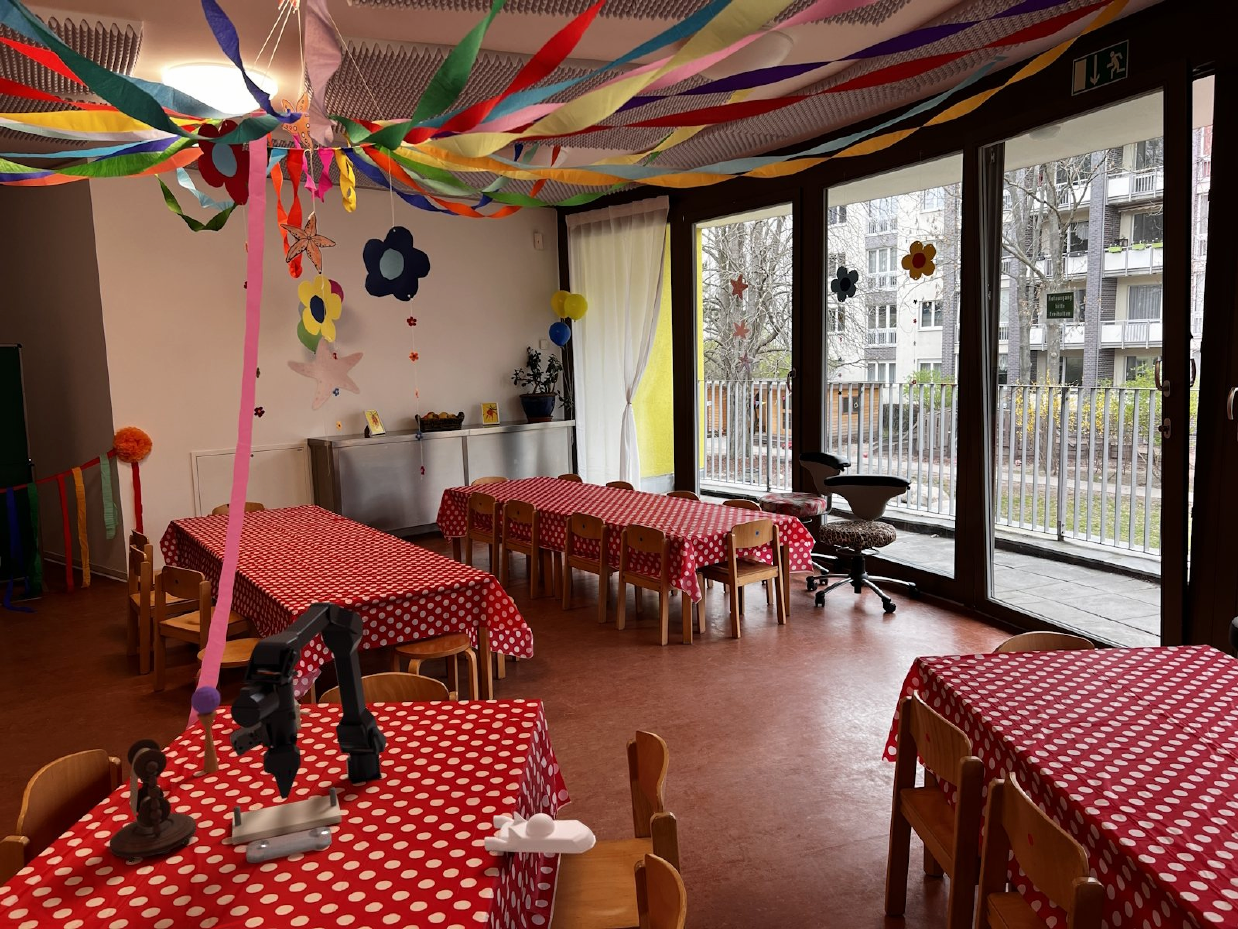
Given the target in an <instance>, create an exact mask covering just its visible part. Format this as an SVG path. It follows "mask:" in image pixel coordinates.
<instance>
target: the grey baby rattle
mask: <svg viewBox="0 0 1238 929" xmlns="http://www.w3.org/2000/svg"><path fill="white" fill-rule="evenodd" d="M331 844H332V829H331V828H330V827H328V826H320V827H315V828H311V829H306V830H301V831H297V832H292V833H287V834H282V835H278V836H273V837H268V838H263V839H258V840H254V841H250V842H249V843H248V844H247V845H246V847H245V852H246V860H247V862H248V863H250V864H257V863H261V862H264V861H269V860H273V859H277V858H283V857H287V856H292V855H296V854H300V853H305V852H309V851H313V850H320V849H321V850H322V849H325V848H327V847H329V846H330V845H331Z"/></svg>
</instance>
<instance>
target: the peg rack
mask: <svg viewBox="0 0 1238 929" xmlns="http://www.w3.org/2000/svg"><path fill="white" fill-rule="evenodd" d="M337 795H338V794H337V790H336V787H330V788H329V795H324V796H319V797H314V798H310V799H304V800H300V801H295V802H289V803H284V804H280V805H275V806H270V807H264V808H259V809H254V810H250V811H249V810H248V811H244V812H241V806H239V805H237V806H234V807H233V814H232V836H231V838H232V845H238V844H243V843H248V842H249V843H250V842H254V841H257V840H264V839H269V838H274V837H278V836H283V835H288V834H293V833H297V832H302V831H307V830H312V829H315V828H319V827H326V826H328V825H329V826H330V825H333V824H338V823H342V814H341V809H340V805H339V799H338V796H337Z"/></svg>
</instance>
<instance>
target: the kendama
mask: <svg viewBox="0 0 1238 929" xmlns="http://www.w3.org/2000/svg"><path fill="white" fill-rule="evenodd" d="M190 699H191V700H190V701H191V707H192V708H193V710H194V711H195V712H197V714H196V717H197V719H198V720H199V721H200V723H201V724H202V726H203V728H204V729H205V730H204V731H205V733H204V735H205V736H204V754H203V755H204V756H203V757H204V758H203V772H204V773H215V772H217V771H219V770H220V767H219V763H218V757H217V753H216V748H215V742H214V738H213V732H212V725H213V723H214V721H215V718H216V716H217V713H218V711H217V710H216V709H217V708H218V707H219V705H220V703H221V694H220V692H219V691H218V689H216V688H215V687H213V686H208V685H205V686H201V687H199V688H198V689H196V690H195V692H193V693H192V695H191V698H190Z"/></svg>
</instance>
